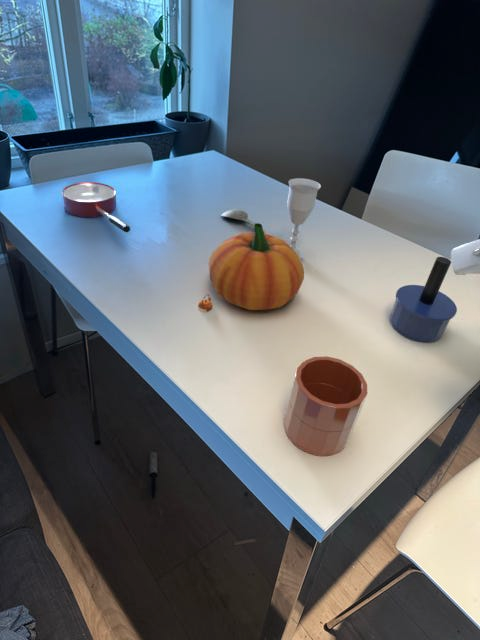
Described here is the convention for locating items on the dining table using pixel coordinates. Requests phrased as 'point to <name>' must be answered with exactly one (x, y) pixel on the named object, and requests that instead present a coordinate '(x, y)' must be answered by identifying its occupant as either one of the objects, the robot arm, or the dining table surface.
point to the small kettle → (205, 304)
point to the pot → (324, 405)
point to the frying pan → (92, 201)
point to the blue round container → (416, 325)
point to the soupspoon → (238, 216)
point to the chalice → (300, 204)
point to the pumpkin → (256, 270)
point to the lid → (429, 296)
